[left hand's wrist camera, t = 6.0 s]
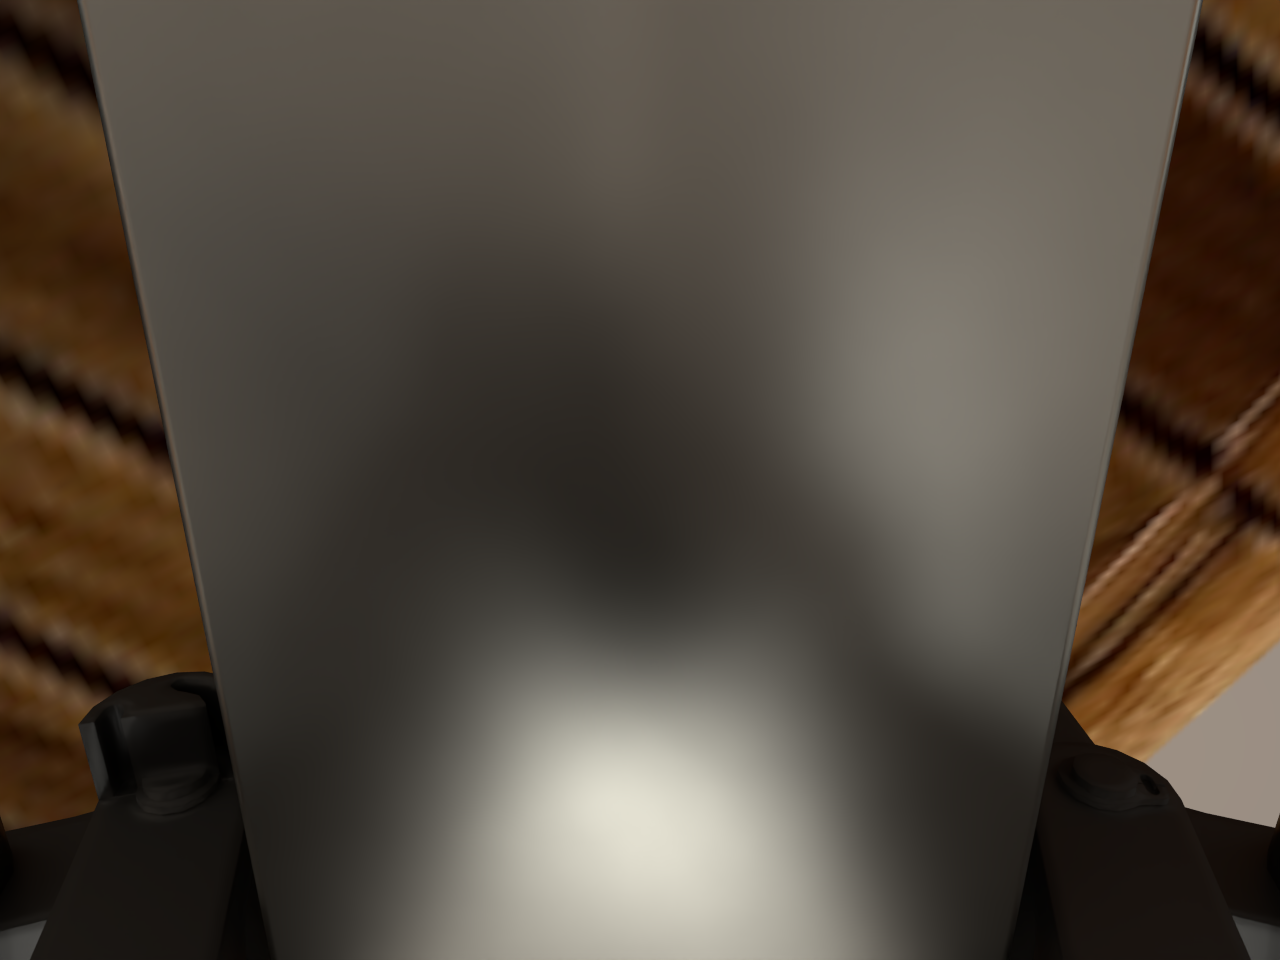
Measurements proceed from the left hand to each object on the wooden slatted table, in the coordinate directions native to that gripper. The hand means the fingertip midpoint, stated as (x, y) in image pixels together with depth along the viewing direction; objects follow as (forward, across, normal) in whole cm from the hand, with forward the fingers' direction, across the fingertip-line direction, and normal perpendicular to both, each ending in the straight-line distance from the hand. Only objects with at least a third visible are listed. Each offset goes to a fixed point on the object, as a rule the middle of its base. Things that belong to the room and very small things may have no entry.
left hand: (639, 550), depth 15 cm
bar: (+1, 0, -8) cm, 8 cm away
